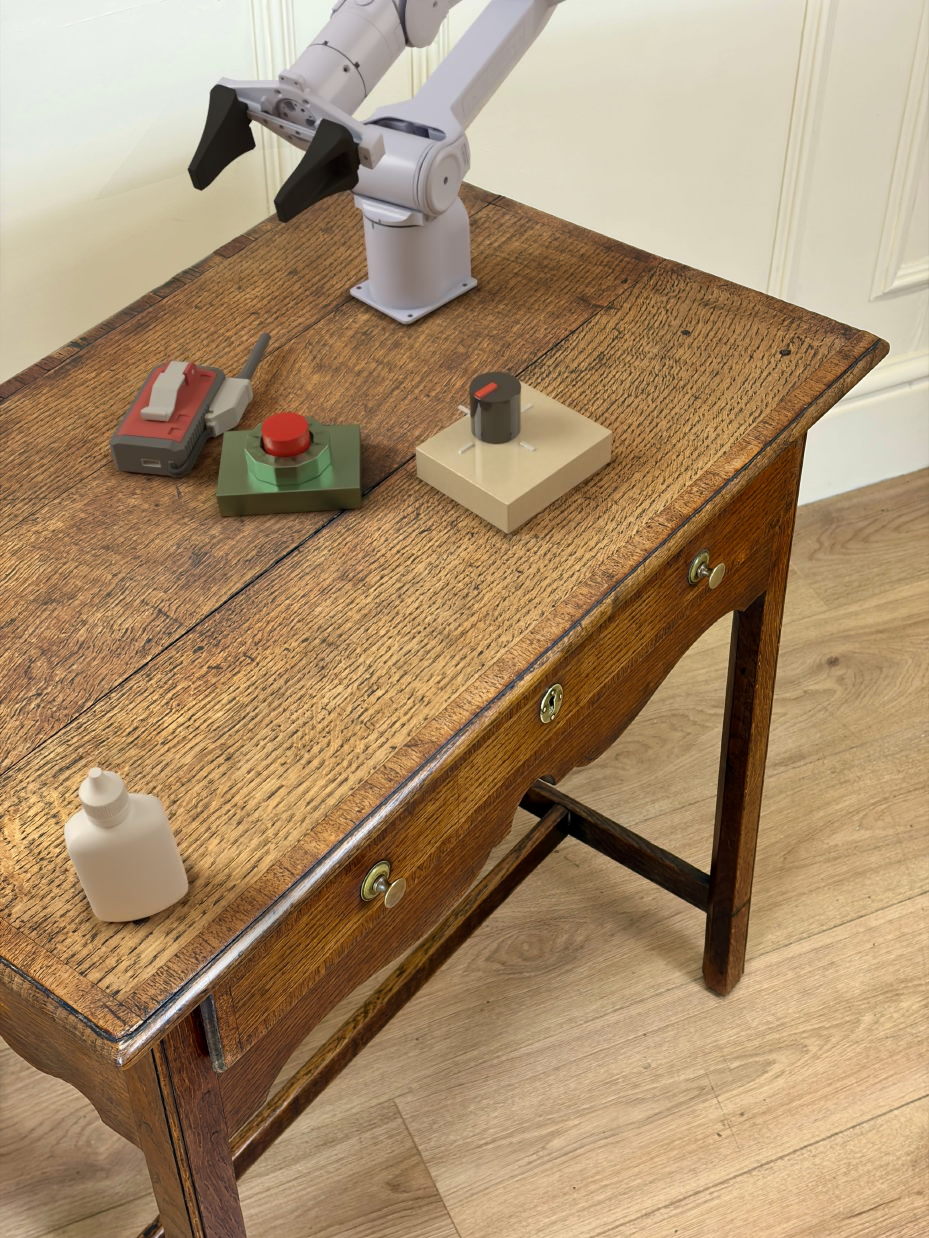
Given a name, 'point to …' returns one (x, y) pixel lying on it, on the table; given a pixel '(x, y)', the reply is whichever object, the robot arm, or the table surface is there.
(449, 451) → the panel
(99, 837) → the eye dropper bottle
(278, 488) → the housing
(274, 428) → the button
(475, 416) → the dial
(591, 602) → the table surface
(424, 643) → the table surface
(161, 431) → the walkie-talkie
